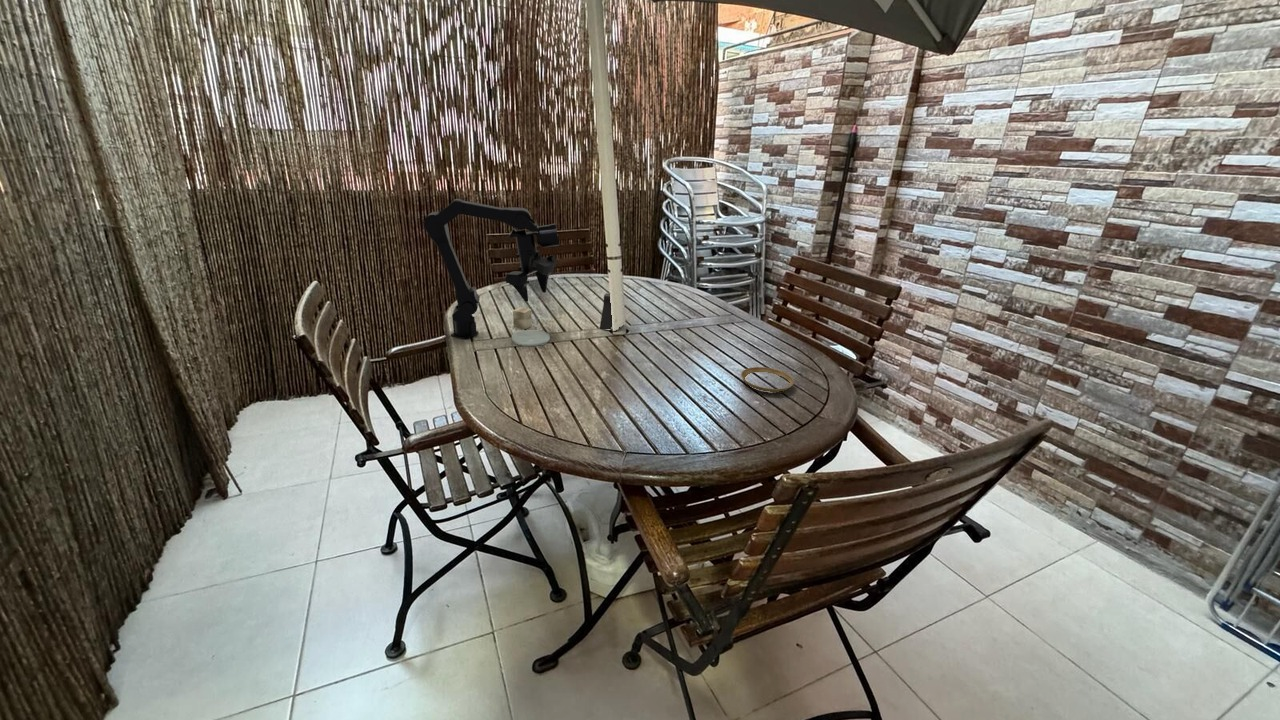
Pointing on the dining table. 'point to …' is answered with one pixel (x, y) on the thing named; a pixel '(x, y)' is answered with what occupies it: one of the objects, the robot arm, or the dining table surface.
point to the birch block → (522, 318)
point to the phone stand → (606, 313)
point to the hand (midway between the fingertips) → (535, 296)
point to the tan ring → (769, 370)
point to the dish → (530, 337)
